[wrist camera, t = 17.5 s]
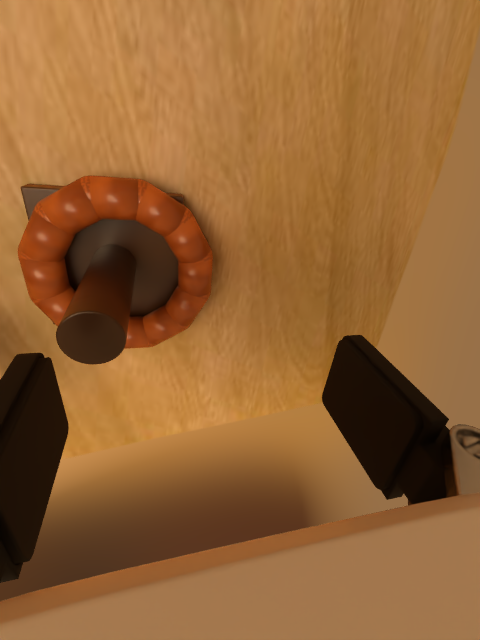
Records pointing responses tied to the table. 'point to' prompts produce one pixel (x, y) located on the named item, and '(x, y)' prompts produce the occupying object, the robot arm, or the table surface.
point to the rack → (110, 281)
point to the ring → (116, 204)
